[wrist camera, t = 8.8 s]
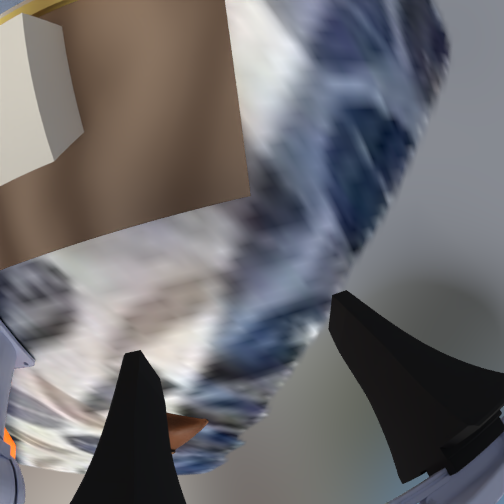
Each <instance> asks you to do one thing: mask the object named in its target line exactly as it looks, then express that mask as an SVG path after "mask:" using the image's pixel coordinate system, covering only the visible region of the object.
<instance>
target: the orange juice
mask: <svg viewBox="0 0 504 504" xmlns="http://www.w3.org/2000/svg"><path fill="white" fill-rule="evenodd" d="M4 442H6V443H7V444H9V445H10V446H11V452H10V455H11V456H12V457H13V458H14V459H15V449H16V445H15V443H14V442H13V440H12V439H11V437H10V435H9V434H8V432H7V430H6V428H5V430H4Z"/></svg>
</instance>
